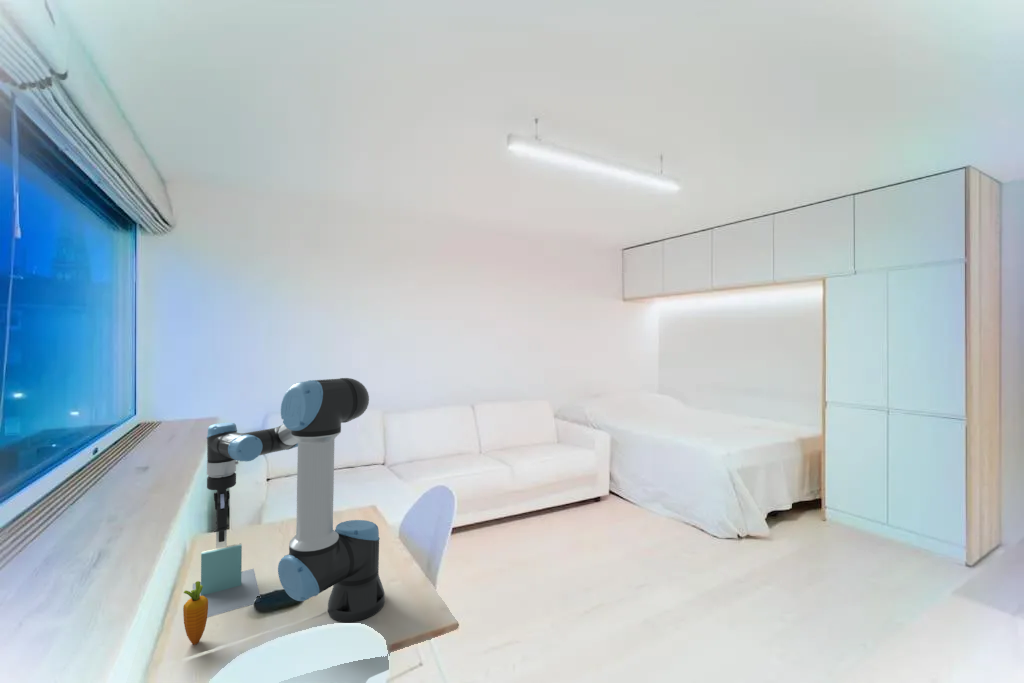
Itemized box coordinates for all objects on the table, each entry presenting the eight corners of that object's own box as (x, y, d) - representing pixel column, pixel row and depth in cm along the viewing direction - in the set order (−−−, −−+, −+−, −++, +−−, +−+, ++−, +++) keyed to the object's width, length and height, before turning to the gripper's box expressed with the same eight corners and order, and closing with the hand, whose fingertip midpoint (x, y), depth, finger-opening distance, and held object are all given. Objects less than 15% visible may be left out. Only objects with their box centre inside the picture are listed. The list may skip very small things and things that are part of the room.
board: (241, 585, 134) (241, 545, 134) (200, 595, 128) (201, 554, 128) (240, 582, 136) (241, 542, 136) (200, 592, 130) (201, 551, 130)
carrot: (195, 653, 106) (195, 590, 106) (177, 650, 107) (178, 588, 107) (212, 639, 111) (213, 579, 111) (195, 637, 112) (196, 577, 112)
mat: (261, 603, 126) (261, 601, 126) (191, 624, 117) (191, 621, 117) (253, 570, 144) (253, 568, 144) (192, 585, 135) (192, 583, 135)
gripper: (237, 477, 133) (236, 555, 133) (234, 467, 144) (234, 539, 144) (207, 481, 129) (206, 562, 129) (206, 470, 140) (206, 545, 140)
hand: (221, 550), depth 137 cm, fingers closed
